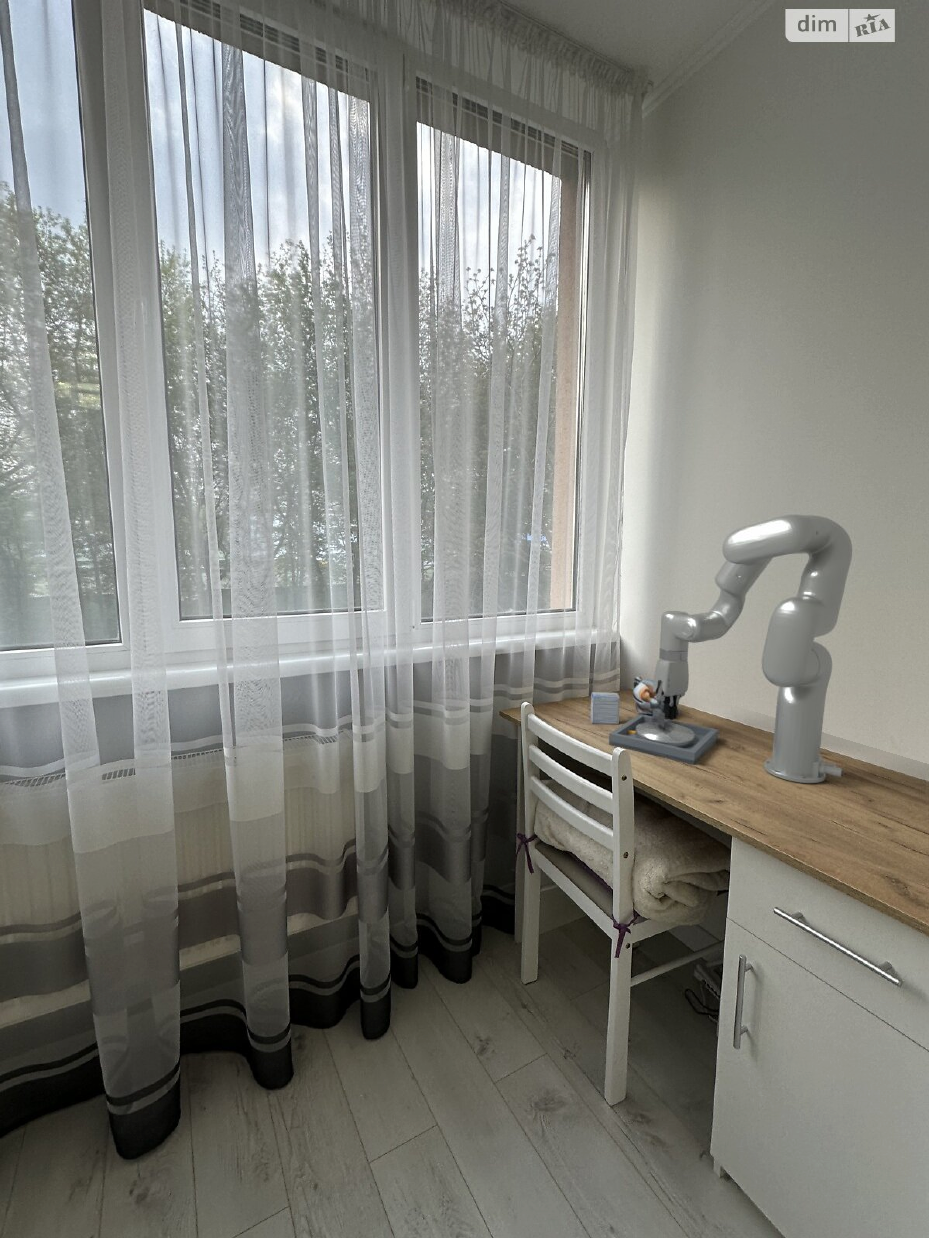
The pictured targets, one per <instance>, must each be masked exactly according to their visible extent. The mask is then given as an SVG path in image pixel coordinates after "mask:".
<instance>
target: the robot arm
mask: <svg viewBox="0 0 929 1238" xmlns="http://www.w3.org/2000/svg"><path fill="white" fill-rule="evenodd" d="M721 548H722V551H721V552H722V555H723V557H724V558H725V562H724V563H723V564H722V566H721V567H720V568H719V570H718V572H717V573H716V575H715V576H714V582H715V584H716V586H717V587H718V588H719V589H720V594H719V596H718V598H717V600H716V601H715V603H714V604H713V606H712V607H711V609H710V610H709V611H708V612H703V613H702V612H701V613H696V614H689V613H688V612H685V611H680V610H668V611H667V610H666V611H664V612H663V613H662V614H661V618H660V633H659V634H660V635H659V636H660V637H659V639H660V640H659V653H658V654H659V655H658V657H659V658H658V659H657V661H656V664H655V669H654V675H653V681H654V682H653V693H655V694H657V700H660V701H663V704H664V713H665V719H667V720H673V721H674V720H677V716H678V715H677V707H678V705H679V704H680V699H681V698H683V697H684V696H685V695H686V693H687V692H688V689H689V680H690V679H689V675H690V673H689V672H690V671H689V661H688V658H689V657H688V656H689V643H692V644H696V643H702V642H707V641H714V640H719V639H720V638H722V637H724V636H725V635H726V634H727V633H728V632H729V630H730V629H731V628H732V627H733V625H734V624H735V623H736V621H737V620H738V619H739V617H740V616H741V614H742V612H743V609H744V606H745V603H746V596H747V593H748V592H749V590H750V589H751V588H752V587H753V586H754V584H755V583H756V581H757V580H758V578H759V577H760V576H761V574H762V573H763V572H764V571H765V570H766V568H767V567H768V565H769V564H770V563H771V562H772V560H773V558H777V557H782V556H785V555H794V554H799V555H800V554H807V555H808V561H807V563H806V564H805V566H804V568H803V571H802V572H801V573H802V574H801V576H800V581H799V582H800V583H799V585H798V591H797V593H796V596H792V597H789V598H786V599H785V600H782V601H781V602H780V603H779V604H778V605H777V606H776V607H775V608H774V609H773V611H772V614H771V615H770V616H771V617H770V619H769V623H768V628H767V633H766V638H765V642H764V647H763V651H762V656H761V657H762V658H761V670H762V673H763V675H764V677H765V679H766V680H767V681H768V682H769V683H771V684H773V685H774V686H776V687H779V688H778V692H777V697H776V707H775V719H774V732H773V741H772V742H773V744H772V752H771V753H772V754H771V758H768V759H766V760H765V761H764V762H763V768H764V770H765V771H766V772H767V773H769V774H771V775H772V776H775V777H777V778H780V779H782V780H786V781H789V782H793V783H794V782H795V783H802V784H817V783H821V782H824V781H825V780H826V774H827V775H831V776H834V777H838V778H842V769H843V768H840V767H837V764H834V763H826V762H825V761H824V760H823V756H822V755H821V745H822V744H821V743H822V734H823V733H822V732H823V723H824V713H825V706H826V698H827V692H828V687H829V683H830V679H831V676H832V670H833V660H832V655H831V653H830V652H829V649H827V647H825V646H824V645H822V643H820V642H818V641H815V638H819V637H821V636H826V635H827V634H829V633H831V632H832V631H833V630H834V629H835V627H836V625H837V622H838V620H839V619H838V618H839V616H840V615H839V614H840V609H841V606H842V605H841V604H842V601H843V597H844V593H845V587H846V583H847V580H848V579H847V578H848V575H849V570H850V566H851V562H852V560H853V559H852V558H853V544H852V540H851V538H850V535H849V533H848V531H846V529H844V527H842V526H841V525H840V524H839V523H837V522H836V521H834V520H832V519H830V518H827V517H824V516H822V515H821V516H819V515H813V514H809V515H808V514H785V515H783V516H778V517H774V518H771V519H767V520H764V521H760V522H757V523H754V524H751V525H747V526H743V527H739V528H737V529H734V530H733V531H731V532H730V533H729V534H728V535H727V536H726V537H725V539H724V541H723V543H722V547H721Z"/></svg>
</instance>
